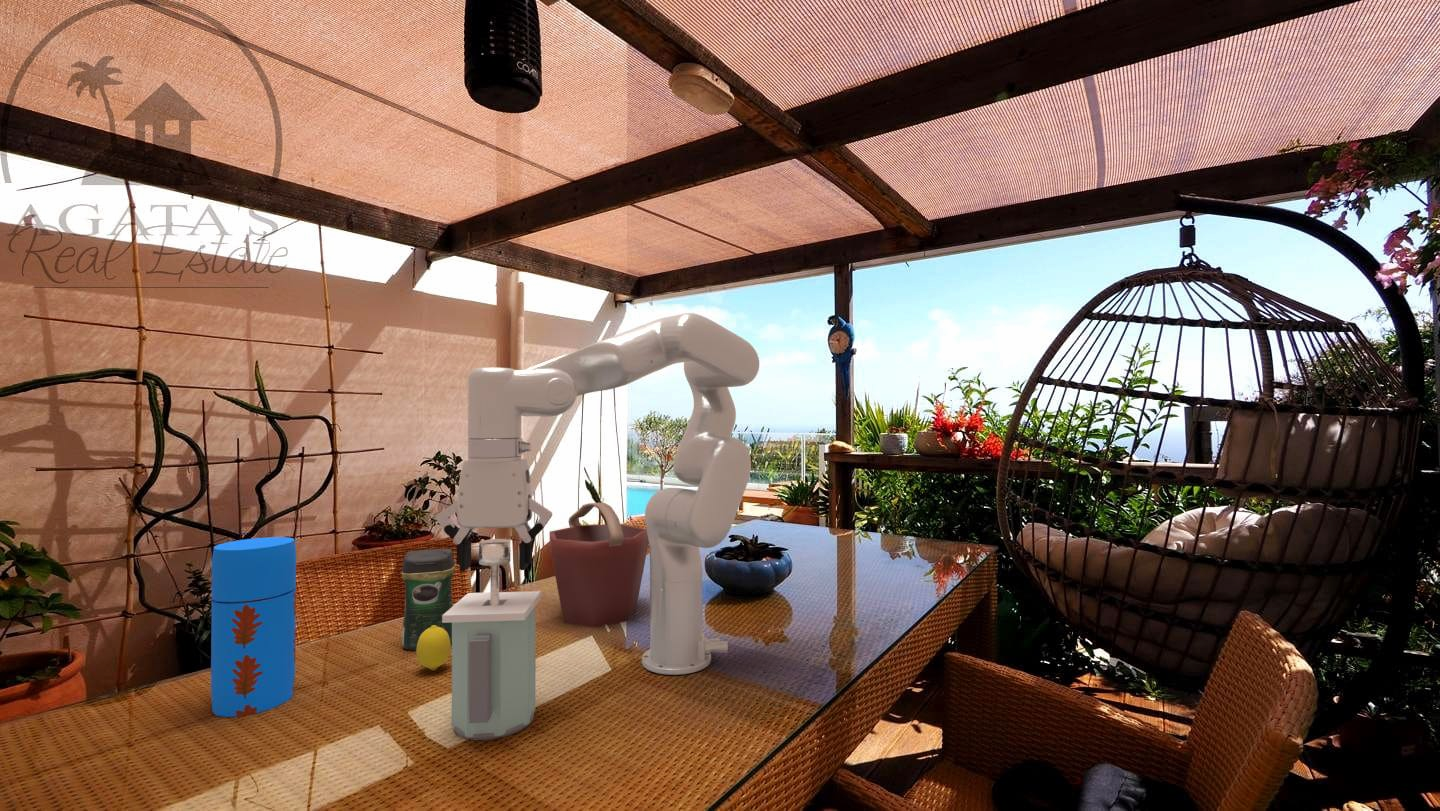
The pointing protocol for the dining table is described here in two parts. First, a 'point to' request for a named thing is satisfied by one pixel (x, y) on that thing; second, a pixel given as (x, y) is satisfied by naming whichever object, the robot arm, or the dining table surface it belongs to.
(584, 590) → the bucket
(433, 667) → the lemon
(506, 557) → the plunger
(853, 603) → the dining table surface
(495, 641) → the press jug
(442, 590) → the coffee jar
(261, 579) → the thermos
